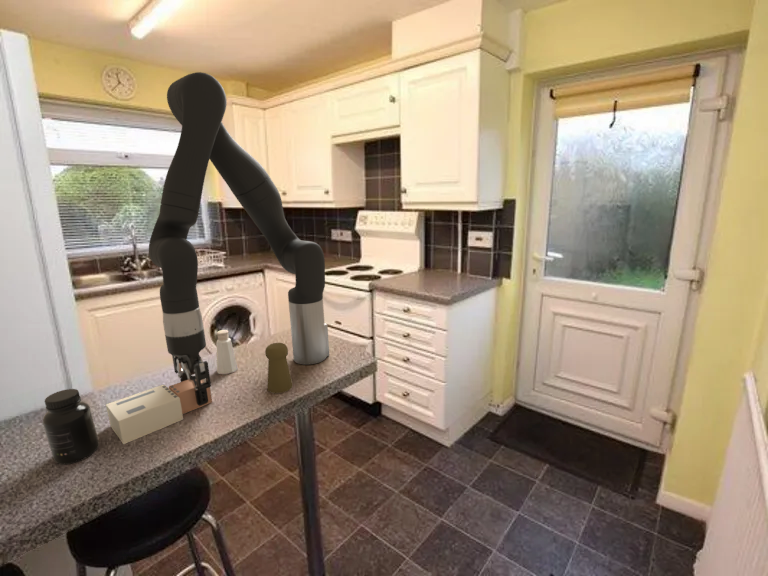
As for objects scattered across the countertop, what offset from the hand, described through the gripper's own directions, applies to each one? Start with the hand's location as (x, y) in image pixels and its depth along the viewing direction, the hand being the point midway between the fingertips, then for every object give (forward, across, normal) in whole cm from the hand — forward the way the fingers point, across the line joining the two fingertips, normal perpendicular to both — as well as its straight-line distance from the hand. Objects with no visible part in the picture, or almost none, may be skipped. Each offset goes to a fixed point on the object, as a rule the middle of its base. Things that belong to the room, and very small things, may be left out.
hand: (195, 397), depth 89 cm
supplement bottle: (+2, -1, +22) cm, 22 cm away
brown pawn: (+2, -8, -17) cm, 19 cm away
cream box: (+1, 0, +10) cm, 10 cm away
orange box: (+1, 0, +1) cm, 2 cm away
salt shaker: (+2, +11, -13) cm, 17 cm away
